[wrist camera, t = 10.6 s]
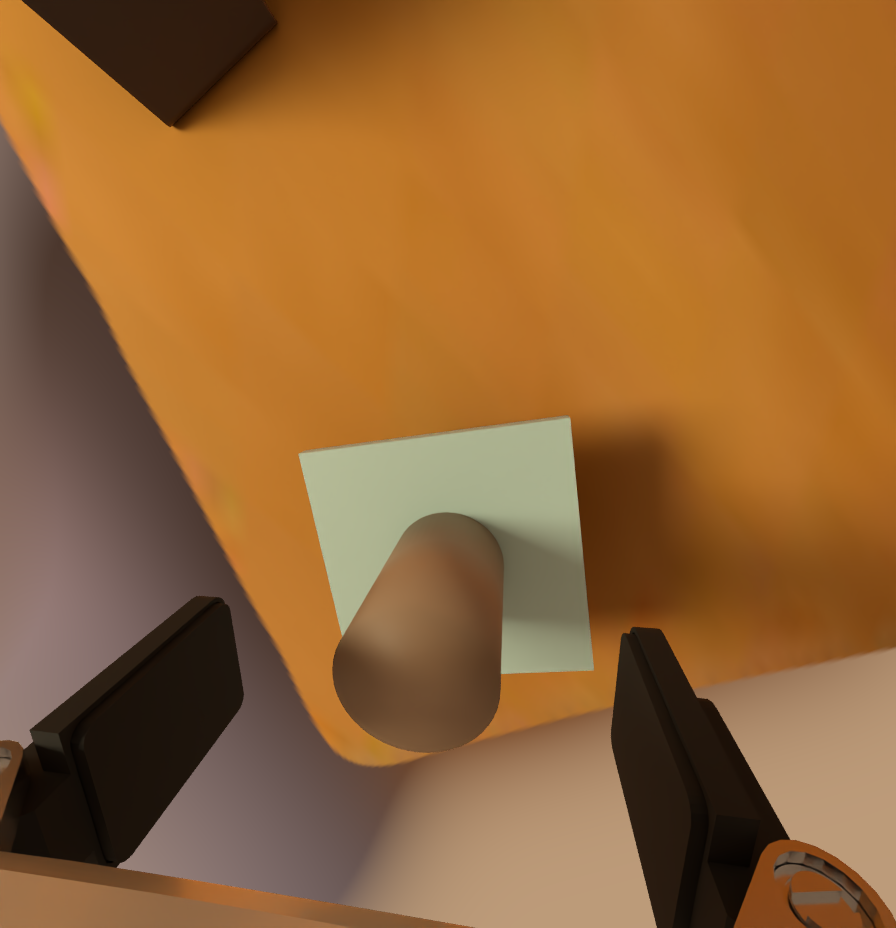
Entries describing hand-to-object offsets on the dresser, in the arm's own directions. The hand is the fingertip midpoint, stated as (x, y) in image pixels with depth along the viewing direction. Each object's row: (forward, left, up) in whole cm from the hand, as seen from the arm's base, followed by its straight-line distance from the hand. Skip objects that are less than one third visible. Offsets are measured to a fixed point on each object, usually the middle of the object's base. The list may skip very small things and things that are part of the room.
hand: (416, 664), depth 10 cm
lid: (0, 0, -7) cm, 7 cm away
